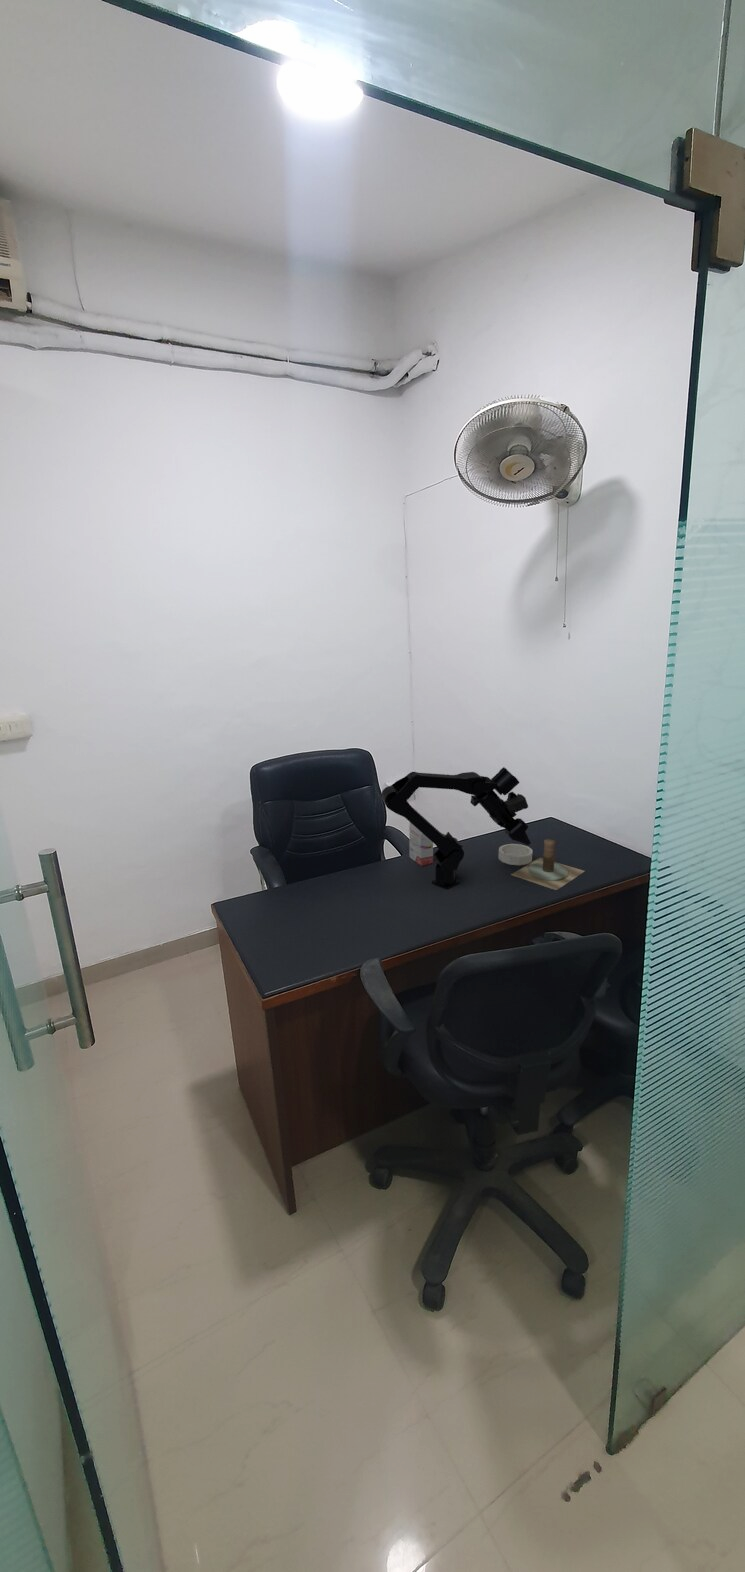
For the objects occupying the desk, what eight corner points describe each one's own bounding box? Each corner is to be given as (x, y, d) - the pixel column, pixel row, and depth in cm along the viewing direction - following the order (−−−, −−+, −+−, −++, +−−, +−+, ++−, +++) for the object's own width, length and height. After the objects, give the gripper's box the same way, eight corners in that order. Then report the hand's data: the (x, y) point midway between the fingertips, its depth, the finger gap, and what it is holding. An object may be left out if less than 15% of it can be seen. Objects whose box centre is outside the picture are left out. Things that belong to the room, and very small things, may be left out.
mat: (556, 891, 182) (556, 890, 182) (510, 875, 193) (510, 874, 193) (584, 871, 194) (584, 871, 194) (540, 858, 205) (540, 857, 205)
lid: (555, 884, 185) (557, 851, 182) (521, 873, 193) (522, 841, 190) (574, 872, 193) (576, 840, 190) (540, 861, 201) (542, 831, 198)
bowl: (520, 868, 197) (520, 859, 197) (492, 859, 205) (492, 850, 204) (538, 858, 205) (538, 849, 204) (510, 849, 212) (510, 841, 211)
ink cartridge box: (433, 863, 203) (434, 822, 199) (421, 866, 201) (420, 825, 197) (421, 854, 211) (421, 814, 206) (408, 857, 209) (408, 817, 204)
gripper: (525, 796, 175) (556, 832, 179) (502, 778, 192) (531, 811, 197) (496, 822, 176) (527, 857, 180) (476, 802, 193) (505, 834, 198)
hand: (523, 838), depth 189 cm, fingers open, 9 cm apart
